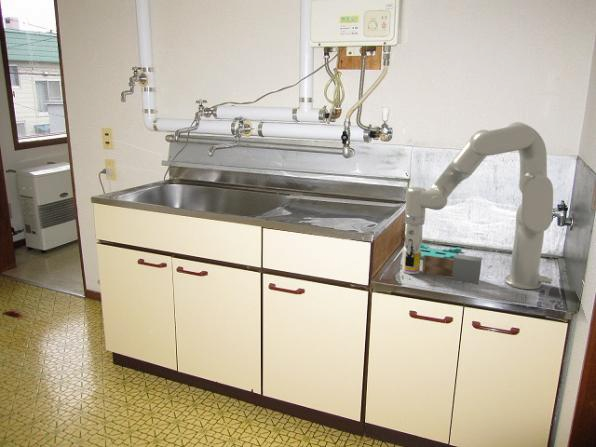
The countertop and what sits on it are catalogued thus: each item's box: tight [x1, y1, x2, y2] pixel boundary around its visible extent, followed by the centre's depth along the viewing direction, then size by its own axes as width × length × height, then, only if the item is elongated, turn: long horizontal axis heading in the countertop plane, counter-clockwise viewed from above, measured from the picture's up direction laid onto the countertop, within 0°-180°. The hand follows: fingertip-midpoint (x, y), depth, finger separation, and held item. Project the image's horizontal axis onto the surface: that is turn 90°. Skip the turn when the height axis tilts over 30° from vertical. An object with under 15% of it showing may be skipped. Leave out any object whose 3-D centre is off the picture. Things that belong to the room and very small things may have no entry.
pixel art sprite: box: [420, 243, 462, 261], centre depth 214 cm, size 20×2×20 cm
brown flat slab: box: [421, 255, 454, 278], centre depth 187 cm, size 14×1×7 cm, turn 65°
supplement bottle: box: [402, 245, 421, 275], centre depth 191 cm, size 7×7×13 cm
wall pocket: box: [451, 253, 483, 285], centre depth 184 cm, size 10×5×9 cm, turn 65°
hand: (411, 262), depth 192 cm, fingers closed on supplement bottle, 6 cm apart
